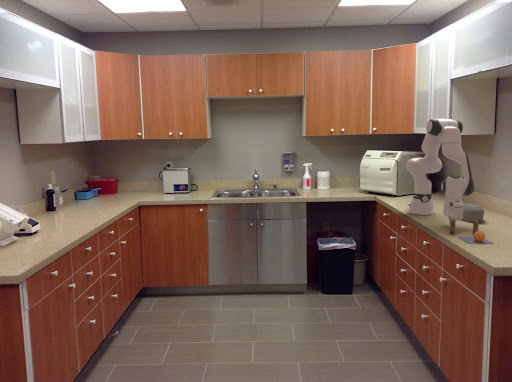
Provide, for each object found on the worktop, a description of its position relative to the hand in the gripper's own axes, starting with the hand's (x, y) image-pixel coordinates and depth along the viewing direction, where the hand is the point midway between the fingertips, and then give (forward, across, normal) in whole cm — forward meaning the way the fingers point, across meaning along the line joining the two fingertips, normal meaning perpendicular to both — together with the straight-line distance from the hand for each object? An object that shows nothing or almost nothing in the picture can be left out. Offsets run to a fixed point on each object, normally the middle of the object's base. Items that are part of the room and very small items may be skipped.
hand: (451, 224), depth 262 cm
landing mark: (+2, +31, 0) cm, 31 cm away
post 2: (+2, +17, +6) cm, 18 cm away
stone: (+2, -26, +21) cm, 34 cm away
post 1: (+2, +17, -6) cm, 18 cm away
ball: (-1, +34, +1) cm, 34 cm away
